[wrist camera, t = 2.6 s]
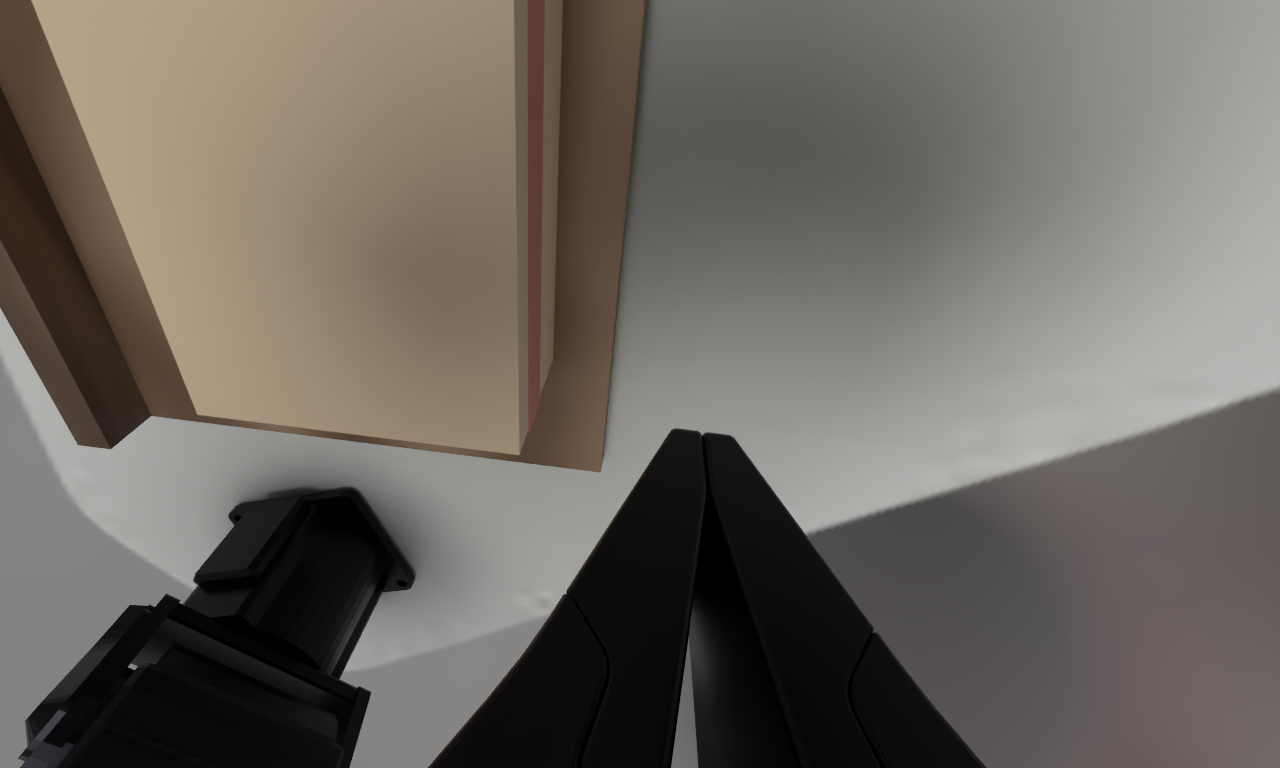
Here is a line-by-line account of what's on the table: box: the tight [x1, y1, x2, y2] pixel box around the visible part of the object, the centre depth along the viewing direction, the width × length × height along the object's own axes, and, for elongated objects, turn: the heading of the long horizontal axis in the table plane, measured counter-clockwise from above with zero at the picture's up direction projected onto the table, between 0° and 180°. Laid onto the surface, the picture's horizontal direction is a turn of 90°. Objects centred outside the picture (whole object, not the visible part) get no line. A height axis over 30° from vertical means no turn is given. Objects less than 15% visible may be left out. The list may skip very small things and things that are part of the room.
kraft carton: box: [31, 0, 563, 455], centre depth 15 cm, size 9×12×5 cm
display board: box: [0, 0, 647, 472], centre depth 17 cm, size 19×22×3 cm
